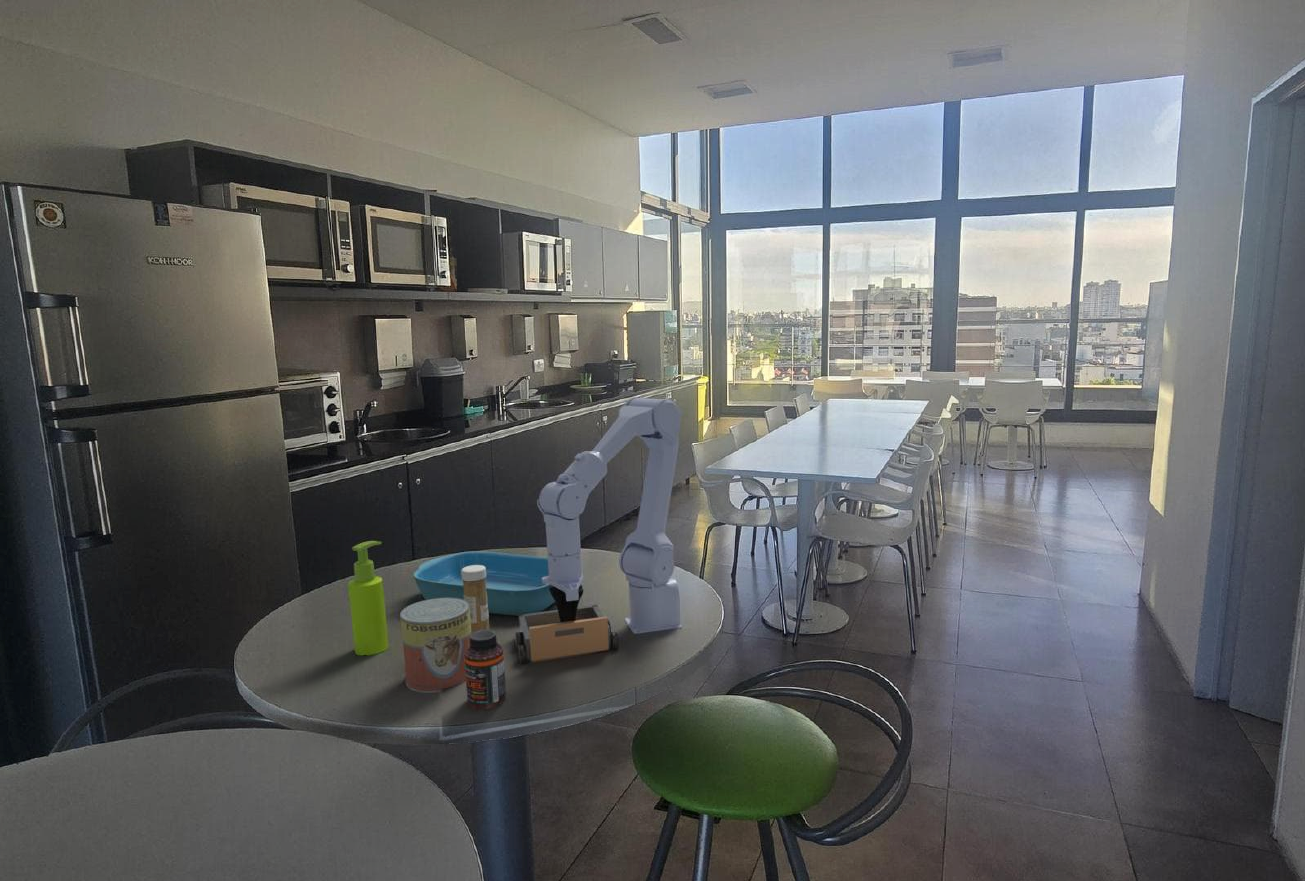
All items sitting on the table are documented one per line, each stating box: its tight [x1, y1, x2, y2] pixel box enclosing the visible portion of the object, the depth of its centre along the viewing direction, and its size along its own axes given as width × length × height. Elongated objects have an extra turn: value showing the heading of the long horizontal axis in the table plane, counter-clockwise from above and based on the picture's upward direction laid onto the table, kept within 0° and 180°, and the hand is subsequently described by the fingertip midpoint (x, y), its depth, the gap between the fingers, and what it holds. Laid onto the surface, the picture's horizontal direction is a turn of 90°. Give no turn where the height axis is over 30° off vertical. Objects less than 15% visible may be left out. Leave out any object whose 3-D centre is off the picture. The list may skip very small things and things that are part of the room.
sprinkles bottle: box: [461, 565, 491, 634], centre depth 144 cm, size 5×5×14 cm
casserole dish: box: [413, 550, 556, 617], centre depth 165 cm, size 37×22×7 cm, turn 69°
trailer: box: [514, 604, 620, 665], centre depth 139 cm, size 17×13×4 cm
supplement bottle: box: [464, 629, 507, 710], centre depth 118 cm, size 6×6×11 cm
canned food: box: [399, 598, 471, 694], centre depth 127 cm, size 11×11×12 cm
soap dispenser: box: [347, 540, 389, 656], centre depth 140 cm, size 6×7×20 cm
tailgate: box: [529, 615, 610, 662], centre depth 132 cm, size 14×1×6 cm, turn 106°
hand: (568, 626), depth 133 cm, fingers closed, pressing on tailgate
